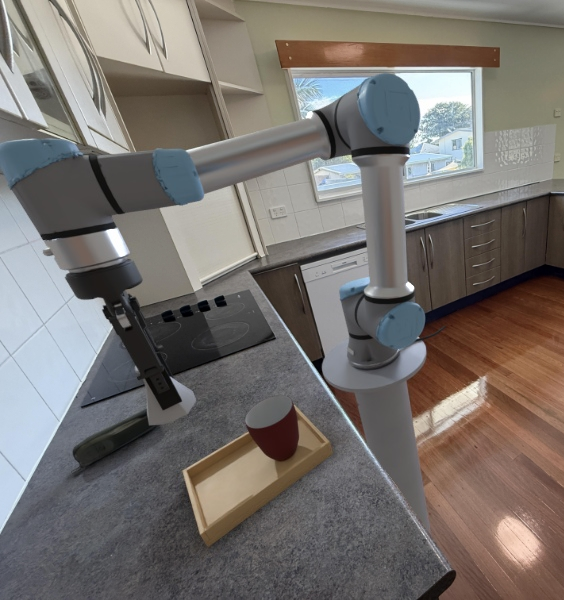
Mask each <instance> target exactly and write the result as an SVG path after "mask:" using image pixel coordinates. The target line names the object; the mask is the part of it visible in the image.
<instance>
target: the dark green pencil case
mask: <svg viewBox="0 0 564 600" xmlns="http://www.w3.org/2000/svg"><path fill="white" fill-rule="evenodd" d="M156 427H158V425H149V421H148V416H147V408H144V409H143V410H141V411H138V412H136V413H134V414H133V415H130V416H128V417H126V418H124V419H122V420H120V421H118V422H116V423H114V424H112V425H110V426H108V427H105V428H104V429H101V430H99V431H97V432H94V433H93V434H90V435H89V436H87V437H86V438H85V439H83V440H82V441H80V442H79V443H78V444H76V445H75V446H74V447H73V449H72V456H73V458H74V459H75V461H76V462H77V463H78V466H77V467H76V468H74V469H72V470H71V471H70V473H71V474H73V475H74V474H76V473H78V472H79V471H81V470H83V469H85V468H86V467H88V466H90V465H91V464H93V463H95V462H97V461H99V460H100V459H102V458H104V457H106V456H108V455H110V454H111V453H113V452H114V451H117V450H118V449H120V448H121V447H124V446H126V445H128V444H129V443H131V442H133V441H135V440H137V439H139V438H141V437H142V436H144V435H145V434H147V433H149V432H151V431H153V430H154V429H155V428H156Z"/></svg>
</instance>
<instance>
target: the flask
mask: <svg viewBox="0 0 564 600" xmlns="http://www.w3.org/2000/svg"><path fill="white" fill-rule="evenodd" d="M134 372H135V374H139V375H140V372H139V371H138V369H137V367H136V365H135V366H134ZM170 378H171V380H172V382H173V384H174V386H175V388H176V389H177V391H178V393H179V395H180V397H181V399H182V402H180V403H178V404H176V405H174V406H172V407H170V408H168V409H165V410H162V408H161V407H160V405H159V403H158V401H157V399H156V398H155V396H154V394H153V392H152V391H151V389H150V387H149V385H148V384H147V382H146V380H145V379H142V381H143V384H144V387H145V396H146V409H147V416H148V421H149V425H157V426H159V425H161V426H162V425H169V424H170V423H173V422H174V421H177V420H179V419H180V418H183V417H185V416H187V415H188V414H189V413H190V411H191V410H192V409H193V407H194V405H195V404H196V402H197V399H196V395H195V393H194V391H193V390H192V389H190V388H188V387H187V386H185V385H184V384H182V383H180V382H179V381H177V380H176V379H175V378H174V379H175V380H174V379H173V378H172V377H170Z"/></svg>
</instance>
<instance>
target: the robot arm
mask: <svg viewBox="0 0 564 600" xmlns="http://www.w3.org/2000/svg"><path fill="white" fill-rule="evenodd" d="M420 127H421V108H420V104H419V100H418V98H417V96H416V93H415V92H414V90H413V89H411V88H410V86H409V84H408V83H407V82H406V81H405V80H404V79H403V78H401V76H398V75H397V74H393V73H390V72H381V73H377V74H376V75H374V76H370V77H367V78H365V79H364V80H363V81H362V82H361V83H360V84H359V85H358V86H355V87H354V88H352V89H350V90H349V91H348V92H346V93H344V94H342V95H341V96H340V97H338V98H337V99H335V100H334V101H332V102H331V103H329V104H327V105H325V106H323V107H321V108H318V109H315V110H309V111H308V112H307V113H306V115H305V118H304V119H300V120H295V121H292V122H288V123H284V124H280V125H277V126H272V127H269V128H266V129H263V130H262V129H261V130H257V131H255V132H251V133H247V134H243V135H239V136H236V137H232V138H228V139H224V140H221V141H216V142H213V143H209V144H205V145H201V146H197V147H194V148H189V149H186V150H185V149H183V148H161V147H160V148H155V149H149V150H139V151H131V152H123V153H122V152H121V153H111V154H101V155H96V154H95V155H90V154H86V155H85V154H84V153H83V152H82V151H81V150H80V149H79V148H78V146H77V145H76V144H75V143H74V142H73V141H70V140H67V139H63V138H23V139H22V138H21V139H14V140H8V141H3V142H1V143H0V170H1V172H2V174H3V175H4V178H5V179H6V182H7V183H8V184H7V186H8V189H9V190H10V191H11V192H12V193H13V195H14V196H15V198H16V200H17V201H18V203H19V204H20V205H21V207H22V209H23V211H24V212H25V214H26V215H27V217H28V218H29V220H30V222H31V223H32V225H33V226H34V228H35V230H36V231H37V233H38V234H39V236H40V239H42V241H43V243H44V244H45V246H46V248H44V249H42V254H43V256H45V257H52V256H54V259H53V260H54V261H55V263H56V265H57V266H58V268H59V270H62V271H68V272H67V273H66V274H65V276H64V279H65V281H66V283H67V284H68V286H69V288H70V289H71V291H72V292H73V294H74V295H75V297H76V298H77V299H79V300H82V301H89V300H90V301H91V300H95V299H97V298H99V299H103V301H104V304H103V305H102V309H101V311H102V313H103V315H104V317H105V319H106V320H108V322H109V324H110V325H111V326H112V329H113V330H114V332H115V333H116V335H117V336H118V337H119V338H120V340H121V342H122V344H123V346H124V347H125V349H126V351H127V353H128V354H129V356H130V358H131V360H132V362H133V363H134V365H135V366H136V367H137V369H138V371H139V372H140V374H139V375H137V376H136V379H137V380H138V381H141V380H143V379H145V380H146V382H147V384H148V385H149V387H150V389H151V391H152V392H153V394H154V396H155V398H156V399H157V401H158V403H159V405H160V407H161V408H162V410H165V409H168V408H170V407H172V406H174V405H176V404H178V403H180V402H182V399H181V397H180V395H179V393H178V391H177V389H176V388H175V386H174V384H173V382H172V380H171V378H170V377H172V378H173V379H174V380H176V379H175V377H174V376H173V374H172V371H171V370H170V367H169V365H168V364H167V362H166V360H165V358H164V356H163V354H162V353H161V351H163V350H164V346H163V345H162V344H161V343H160V344H158V345H157V341H156V340H155V339H154V338H153V336H152V333H151V332H150V330H149V328H148V326H147V322H146V318H145V315H144V314H143V311H142V307H141V305H140V302H139V300H138V298H137V296H136V295H134V296H133V295H132V294H131V293H129V292H127V291H128V290H132V289H134V288H136V287H138V286H140V285H141V284H142V283H143V277H142V275H141V273H140V271H139V269H138V267H137V264H136V263H135V261H134V260H132V259H131V258H128V257H129V255H130V254H131V252H130V249H129V247H128V245H127V243H126V241H125V239H124V237H123V235H122V233H121V232H120V229H119V227H118V226H117V225H116V223H115V221H114V219H113V216H115V215H116V216H117V215H124V214H127V213H128V214H129V213H136V212H143V211H148V210H149V211H150V210H157V209H161V208H162V209H163V208H169V207H176V206H179V207H180V206H182V207H183V206H185V205H188V204H193V203H196V202H201V201H202V200H203V199H204V197H205V195H206V194H209V193H212V192H215V191H219V190H221V189H225V188H228V187H232V186H234V185H237V184H240V183H243V182H247V181H249V180H253V179H256V178H259V177H262V176H266V175H268V174H271V173H276V172H278V171H281V170H284V169H287V168H291V167H294V166H296V165H297V166H298V165H300V164H302V163H303V164H304V163H306V162H309V161H312V160H315V159H318V158H319V159H320V160H323V161H325V162H326V161H330V160H332V159H335V158H340V157H346V156H351V161H352V162H353V163H354V164H355V165H356V166H357V167H358V168H359V170H360V171H359V172H360V181H361V192H362V193H361V194H362V205H363V216H364V218H363V219H364V228H365V229H364V230H365V241H366V252H367V253H366V255H367V264H368V266H367V267H368V276H367V277H361V278H358V279H357V278H356V279H355V280H351V281H348V282H346V283H344V284H342V286H340V288H339V290H338V292H339V293H338V294H339V301H340V303H341V309H342V312H343V315H344V316H343V317H344V320H345V325H346V328H347V333H348V338H349V343H348V346H347V357H348V362H349V364H350V365H351V366H352V367H354V368H356V369H359V370H376V369H380V368H383V367H385V366H388V365H389V364H391V363H393V362H394V361H395V360H396V359H397V358H398V356H399V354H400V349H402V348H405V347H407V346H409V345H411V344H412V343H413V342H415V341H419V340H422V341H423V340H427V339H430V338H433V337H435V336H437V335H438V334H440V333H441V332H442V331H444V330H445V329H446V328H447V326H446V325H444V326H442V327H441V328H440V329H438V330H437V331H436V332H434V333H432V334H429V335H426V336H422V337H419V336H421V334H422V333H423V330H424V328H425V323H426V314H425V310H424V309H423V307H421V305H420V304H419V303H416V298H415V297H416V293H415V292H416V291H415V286H414V285H413V284H412V283H411V282H410V281H409V280H408V258H407V256H408V255H407V235H406V234H407V233H406V211H405V210H406V209H405V208H406V207H405V189H404V188H405V187H404V186H405V185H404V166H405V165H406V163H407V162H408V161H409V160H410V159H411V150H410V149H411V147H410V145H411V141H412V140H414V138H415V137H416V134H417V133H418V132H419V129H420ZM126 290H127V291H126ZM417 337H419V338H418V339H417Z"/></svg>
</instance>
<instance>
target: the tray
mask: <svg viewBox="0 0 564 600" xmlns="http://www.w3.org/2000/svg"><path fill="white" fill-rule="evenodd" d="M294 407H295V409H296V413H297V420H298V428H299V441H298V445H297V449H296V451H295V453H294V455H293V456H292V457H291V458H289V459H288V460H285V461H276V460H274V459H271V458H269V457H268V456H266V455H265V454H264V453H263V452H262V450H261V449H260V448H259V447H258V445H257V444H256V443H255V441H254V440H253V439H252V437H251V436H250V434H249V432H248V431H247V432H245V433H244V434H242V435H240V436H239V437H237V438H235V439H233V440H232V441H230V442H228V443H227V444H225V445H223V446H221V447H219V448H218V449H217V450H215V451H213V452H212V453H210V454H208V455H206V456H205V457H203V458H201V459H199V460H198V461H197V462H195V463H193V464H191V465H189V466H188V467H186V468H184V469H183V470H182V471H181V472H182V475H183V479H184V482H185V486H186V490H187V493H188V496H189V500H190V502H191V507H192V512H193V514H194V519H195V522H196V525H197V529H198V533H199V535H200V537H201V539H202V540H203V542H204V544H205V545H206V547H207V548H210V546H213V544H215V543H216V542H218V541H219V540H220V539H221V538H223V537H224V536H225V535H227V534H228V533H229V532H231V531H233V530H234V529H235V528H236V527H237V526H239V525H240V524H241V523H243V522H244V521H245V520H247V519H248V518H249V517H251V516H252V515H254V514H255V513H256V512H257V511H259V510H260V509H261V508H263V507H264V506H266V505H267V504H268V503H269V502H271V501H272V500H274V499H275V498H276V497H277V496H279V495H280V494H282V493H283V492H284V491H285V490H287V489H288V488H289V487H291V486H292V485H294V484H295V483H296V482H298V481H299V480H300V479H301V478H303V477H304V476H305V475H307V474H308V473H309V472H311V471H312V470H314V469H315V468H316V467H317V466H319V465H320V464H322V463H323V462H325V460H327V459H329V457H331V456H332V455H334V451H333V448H332V446H331V445H332V444H331V442H330V440H329V439H328V438H327V437H326V436H325V435H324V434H323V433H322V431H320V430H319V429H318V428H317V427H316V426H315V424H314V423H313V422H312V421H311V420H309V418H308V417H307V416H306V415H305V414H304V413H303V412H302V411H301V410H300V408H299V407H297V406H296V405H295V404H294Z"/></svg>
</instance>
